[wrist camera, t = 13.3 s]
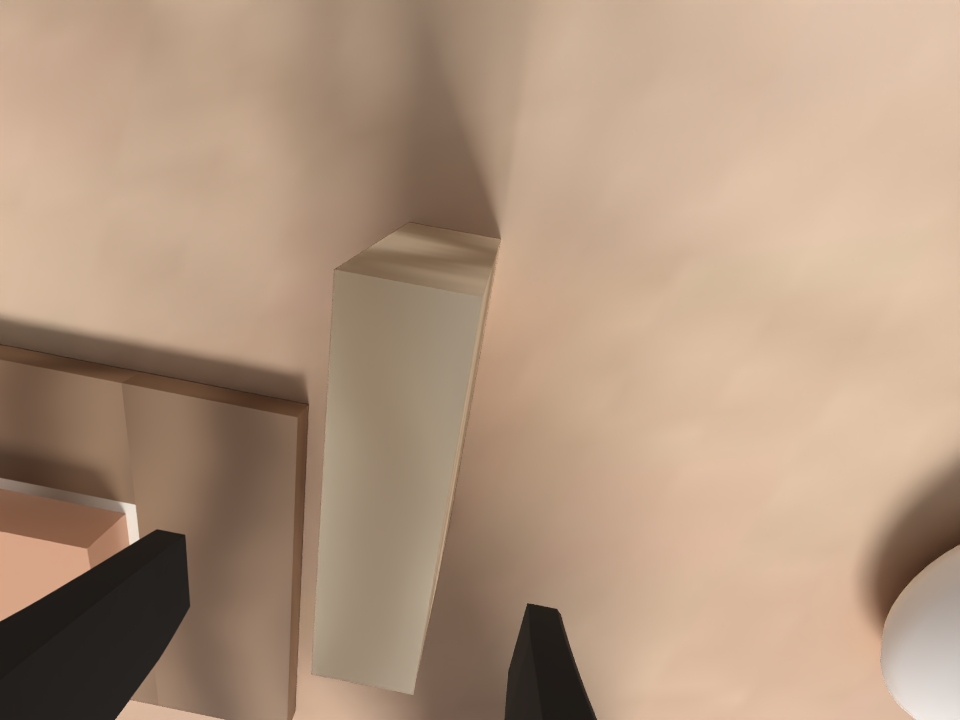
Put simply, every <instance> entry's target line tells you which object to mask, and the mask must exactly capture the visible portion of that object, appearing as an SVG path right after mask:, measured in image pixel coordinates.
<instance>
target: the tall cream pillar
mask: <svg viewBox="0 0 960 720" xmlns="http://www.w3.org/2000/svg"><path fill="white" fill-rule="evenodd" d="M500 242H501V239H497V238H492V237H487V236H481V235H476V234H470V233H465V232H460V231H454V230H449V229H443V228H438V227H433V226H427V225H422V224H416V223H411V222H408V223H407V224H405V225H404V226H402V227H401V228H399V229H397V230H396V231H394V232H393V233H391V234H390V235H388V236H386V237H385V238H383V239H382V240H380V241H378V242H377V243H375V244H374V245H372V246H371V247H369V248H367V249H366V250H364V251H363V252H361V253H360V254H358V255H356V256H355V257H353V258H352V259H350V260H349V261H347V262H345V263H344V264H342V265H341V266H339V267H338V268H336V269H334V285H333V303H332V320H331V338H330V356H329V373H328V391H327V408H326V426H325V443H324V461H323V478H322V496H321V513H320V531H319V549H318V566H317V584H316V601H315V619H314V636H313V654H312V671H311V674H312V675H317V676H322V677H327V678H332V679H337V680H342V681H346V682H351V683H356V684H361V685H366V686H371V687H376V688H381V689H386V690H391V691H396V692H401V693H406V694H411V695H413V694H414V689H415V684H416V680H417V675H418V670H419V665H420V661H421V656H422V651H423V647H424V642H425V637H426V633H427V628H428V623H429V619H430V614H431V609H432V605H433V600H434V595H435V591H436V586H437V581H438V577H439V572H440V567H441V562H442V558H443V553H444V548H445V544H446V539H447V534H448V529H449V524H450V518H451V513H452V507H453V502H454V496H455V491H456V485H457V480H458V474H459V469H460V463H461V458H462V452H463V447H464V441H465V435H466V430H467V424H468V419H469V413H470V408H471V402H472V397H473V391H474V386H475V380H476V375H477V369H478V364H479V358H480V353H481V347H482V342H483V336H484V330H485V325H486V319H487V314H488V308H489V303H490V297H491V292H492V286H493V281H494V275H495V270H496V264H497V259H498V253H499V248H500Z"/></svg>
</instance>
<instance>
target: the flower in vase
mask: <svg viewBox="0 0 960 720" xmlns="http://www.w3.org/2000/svg"><path fill="white" fill-rule="evenodd" d="M880 662H881V670H882V675H883V678H884V681H885V684H886V687H887V689H888V690H889V692H890V693H891V695H892V697H893V698H894V700H895V701H896V702H897V703H898V704H899V705H900V706H901V707H902V709H903V710H905V711H906V712H907V713H908V714H909V715H911V716H912V717H913V718H914V719H915V720H960V544H959V545H958V546H956V547H954V548H953V549H951V550H949V551H947V552H946V553H944V554H943V555H941V556H940V557H939V558H937V559H936V560H935V561H933V562H932V563H930V564H929V565H928V566H927V567H926V568H924V569H923V570H922V571H921V572H920V573H919V574H918V575H917V576H916V577H915V578H913V580H912V581H911V582H910V583H909V584H908V585H907V586H906V587H905V589H904V590H903V591H902V592H901V593H900V595H899V596H898V598H897V599H896V601H895V602H894V604H893V605H892V607H891V610H890V612H889V614H888V616H887V618H886V621H885V625H884V629H883V632H882V643H881V659H880Z"/></svg>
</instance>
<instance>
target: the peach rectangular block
mask: <svg viewBox="0 0 960 720" xmlns="http://www.w3.org/2000/svg"><path fill="white" fill-rule="evenodd" d="M129 545H130V544H129V536H128V528H127V520H126V514H125V513H120V512H115V511H110V510H105V509H100V508H95V507H90V506H85V505H80V504H75V503H70V502H65V501H60V500H55V499H50V498H45V497H40V496H35V495H30V494H25V493H20V492H15V491H10V490H5V489H0V621H2V620H4V619H5V618H7V617H9V616H11V615H13V614H14V613H16V612H18V611H20V610H22V609H24V608H25V607H27V606H29V605H31V604H33V603H34V602H36V601H38V600H39V599H41V598H43V597H44V596H46V595H48V594H50V593H51V592H53V591H55V590H56V589H58V588H60V587H61V586H63V585H65V584H66V583H68V582H70V581H71V580H73V579H75V578H77V577H78V576H80V575H82V574H83V573H85V572H87V571H88V570H90V569H92V568H93V567H95V566H96V565H98V564H100V563H101V562H103V561H105V560H106V559H108V558H110V557H111V556H113V555H115V554H116V553H118V552H119V551H121V550H123V549H124V548H126V547H128V546H129Z"/></svg>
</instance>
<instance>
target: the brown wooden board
mask: <svg viewBox="0 0 960 720" xmlns="http://www.w3.org/2000/svg"><path fill="white" fill-rule="evenodd" d="M307 428H308V404H303V403H298V402H293V401H287V400H282V399H277V398H272V397H267V396H262V395H257V394H251V393H246V392H241V391H236V390H231V389H226V388H221V387H215V386H210V385H205V384H200V383H195V382H190V381H184V380H179V379H174V378H169V377H164V376H159V375H154V374H148V373H143V372H138V371H133V370H128V369H123V368H118V367H112V366H107V365H102V364H97V363H92V362H87V361H82V360H76V359H71V358H66V357H61V356H56V355H51V354H45V353H40V352H35V351H30V350H25V349H20V348H15V347H9V346H4V345H0V489H5V490H10V491H15V492H20V493H25V494H30V495H35V496H40V497H45V498H50V499H55V500H60V501H65V502H70V503H75V504H80V505H85V506H90V507H95V508H100V509H105V510H110V511H115V512H120V513H125V514H126V520H127V528H128V536H129V544H130V545H131V544H133V543H134V542H136V541H138V540H139V539H141V538H143V537H144V536H146V535H148V534H149V533H151V532H153V531H154V530H156V529H159V530H164V531H169V532H174V533H179V534H184V535H185V537H186V551H187V566H188V580H189V595H190V608H189V610H188V611H187V613H186V615H185V617H184V619H183V620H182V622H181V624H180V626H179V627H178V629H177V631H176V633H175V634H174V636H173V638H172V639H171V641H170V643H169V644H168V646H167V648H166V649H165V651H164V653H163V654H162V656H161V658H160V659H159V660H158V662H157V663H156V665H155V666H154V667H153V669H152V670H151V671H150V673H149V674H148V676H147V677H146V678H145V680H144V681H143V682H142V684H141V685H140V687H139V688H138V689H137V691H136V692H135V693H134V695H133V696H132V697H131V699H130V700H133V701H138V702H143V703H148V704H153V705H157V706H162V707H167V708H172V709H177V710H182V711H187V712H191V713H196V714H201V715H206V716H211V717H216V718H221V719H225V720H292V718H293V716H294V714H295V706H296V683H297V660H298V636H299V613H300V590H301V567H302V544H303V521H304V497H305V474H306V451H307Z"/></svg>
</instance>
